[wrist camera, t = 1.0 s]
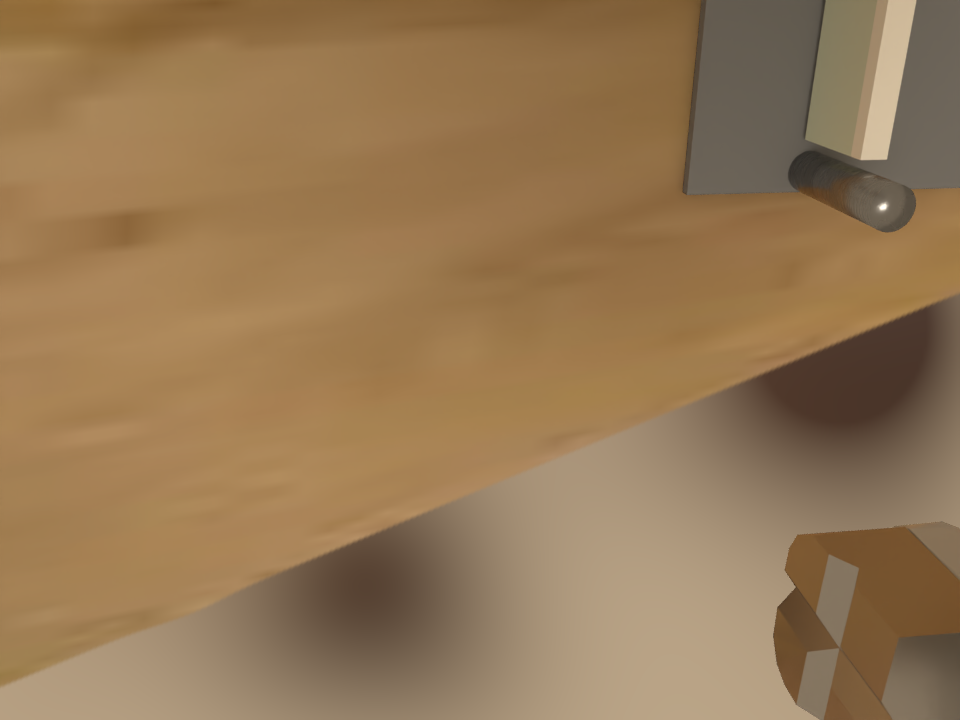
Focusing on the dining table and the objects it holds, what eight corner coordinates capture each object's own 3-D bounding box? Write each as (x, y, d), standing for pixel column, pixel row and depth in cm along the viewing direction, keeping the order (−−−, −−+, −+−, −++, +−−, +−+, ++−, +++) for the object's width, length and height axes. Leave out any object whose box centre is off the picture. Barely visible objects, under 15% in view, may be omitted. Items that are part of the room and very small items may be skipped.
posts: (831, -175, 39) (946, -207, 31) (875, -174, 39) (998, -205, 32) (779, 189, 45) (865, 233, 38) (818, 188, 45) (910, 231, 38)
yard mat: (722, -218, 37) (728, -221, 37) (1114, -203, 40) (1125, -205, 39) (682, 192, 44) (687, 194, 44) (1019, 183, 47) (1027, 186, 46)
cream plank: (828, 139, 43) (886, 159, 38) (804, 139, 43) (860, 160, 38) (868, -113, 39) (939, -123, 34) (842, -113, 39) (909, -124, 34)
